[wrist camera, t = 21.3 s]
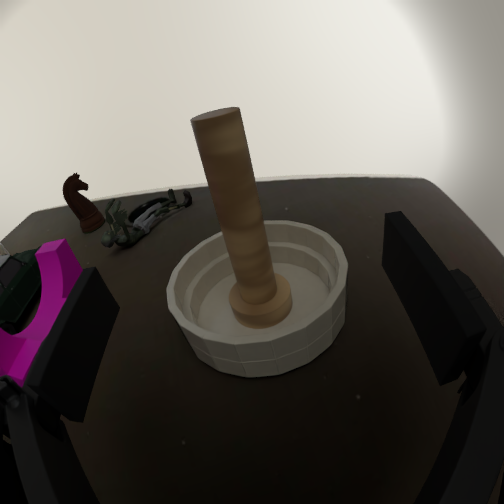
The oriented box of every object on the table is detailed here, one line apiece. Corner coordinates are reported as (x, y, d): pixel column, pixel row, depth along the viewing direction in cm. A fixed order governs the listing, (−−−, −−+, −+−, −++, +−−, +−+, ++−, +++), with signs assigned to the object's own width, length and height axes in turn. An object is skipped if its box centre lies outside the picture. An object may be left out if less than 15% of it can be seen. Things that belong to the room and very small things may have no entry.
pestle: (279, 278, 26) (244, 101, 18) (302, 315, 22) (269, 106, 14) (227, 297, 25) (171, 120, 17) (242, 337, 22) (174, 131, 13)
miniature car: (63, 266, 38) (38, 220, 33) (6, 363, 23) (-37, 313, 18) (28, 273, 39) (5, 233, 34) (-24, 358, 24) (-60, 314, 19)
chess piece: (109, 219, 47) (87, 167, 41) (88, 236, 44) (63, 182, 38) (96, 218, 49) (76, 170, 44) (76, 233, 46) (53, 184, 40)
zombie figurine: (181, 162, 40) (97, 220, 31) (194, 204, 44) (121, 266, 35) (157, 163, 43) (79, 215, 33) (170, 201, 47) (100, 257, 38)
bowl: (304, 244, 30) (299, 206, 28) (378, 335, 20) (385, 291, 17) (179, 288, 29) (163, 250, 26) (202, 405, 18) (176, 371, 15)
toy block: (56, 409, 18) (-3, 354, 14) (19, 395, 19) (-32, 345, 15) (112, 291, 30) (81, 235, 26) (74, 293, 31) (44, 243, 27)
